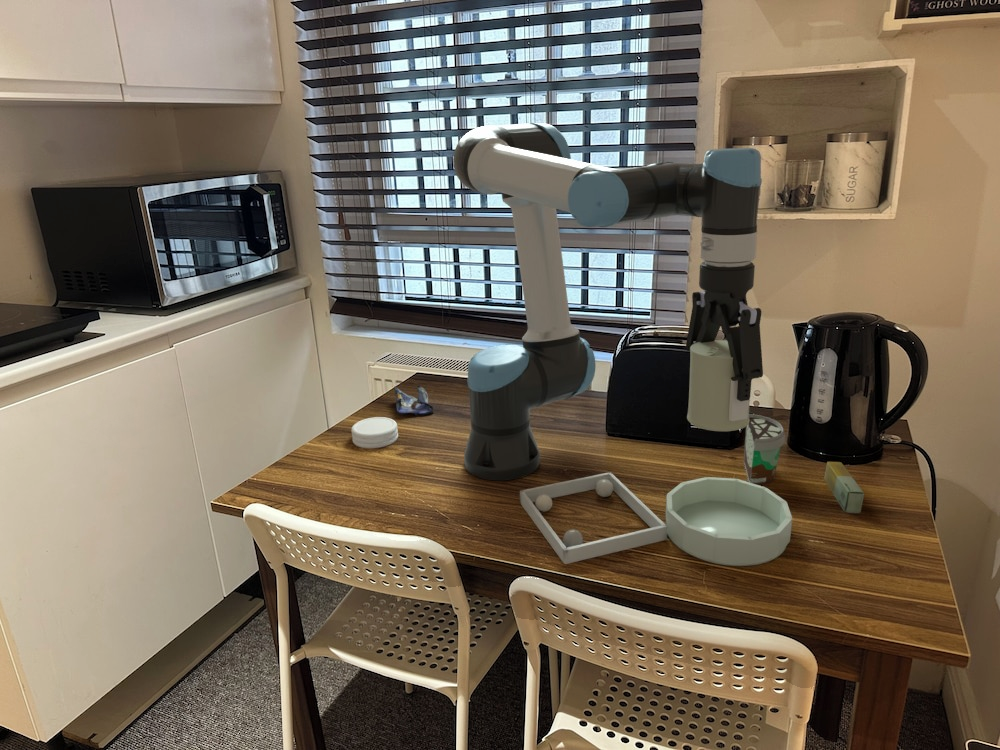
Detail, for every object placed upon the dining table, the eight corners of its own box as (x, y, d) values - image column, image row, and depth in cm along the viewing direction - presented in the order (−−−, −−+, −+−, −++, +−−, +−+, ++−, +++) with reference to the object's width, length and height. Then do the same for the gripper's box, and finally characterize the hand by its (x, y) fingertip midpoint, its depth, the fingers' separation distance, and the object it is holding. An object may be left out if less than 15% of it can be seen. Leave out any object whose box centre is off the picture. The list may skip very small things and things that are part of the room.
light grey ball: (592, 493, 129) (592, 477, 128) (608, 490, 130) (608, 474, 129) (600, 501, 127) (600, 485, 125) (616, 498, 127) (616, 482, 126)
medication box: (861, 514, 120) (865, 493, 118) (844, 513, 120) (848, 493, 119) (838, 480, 131) (841, 460, 129) (822, 479, 131) (825, 460, 130)
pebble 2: (559, 545, 114) (559, 528, 113) (578, 540, 115) (577, 523, 114) (567, 555, 111) (567, 538, 110) (586, 551, 112) (586, 534, 111)
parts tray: (520, 502, 127) (519, 490, 126) (610, 483, 132) (610, 472, 132) (564, 564, 109) (564, 550, 109) (666, 539, 115) (667, 526, 114)
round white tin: (345, 438, 157) (343, 424, 156) (385, 426, 162) (383, 412, 161) (365, 454, 149) (363, 439, 148) (406, 440, 155) (405, 425, 153)
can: (675, 421, 109) (678, 347, 105) (705, 404, 115) (708, 333, 111) (731, 436, 103) (736, 358, 99) (759, 417, 109) (765, 342, 105)
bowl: (644, 514, 122) (645, 490, 120) (738, 493, 127) (740, 469, 126) (708, 577, 105) (710, 550, 103) (814, 550, 110) (817, 523, 109)
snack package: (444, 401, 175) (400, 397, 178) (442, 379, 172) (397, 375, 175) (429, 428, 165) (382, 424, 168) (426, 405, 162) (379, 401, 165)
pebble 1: (532, 508, 125) (532, 493, 124) (548, 504, 126) (548, 489, 125) (539, 516, 123) (538, 501, 122) (555, 512, 124) (554, 497, 123)
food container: (786, 492, 127) (792, 442, 124) (750, 490, 128) (755, 440, 125) (775, 461, 138) (780, 414, 135) (742, 459, 140) (746, 412, 136)
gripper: (665, 253, 110) (661, 389, 117) (751, 277, 90) (740, 438, 98) (707, 248, 112) (701, 382, 119) (800, 271, 92) (786, 430, 100)
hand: (719, 407), depth 108 cm, fingers closed on can, 9 cm apart
